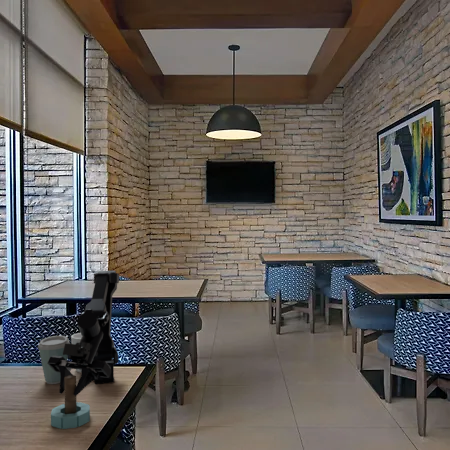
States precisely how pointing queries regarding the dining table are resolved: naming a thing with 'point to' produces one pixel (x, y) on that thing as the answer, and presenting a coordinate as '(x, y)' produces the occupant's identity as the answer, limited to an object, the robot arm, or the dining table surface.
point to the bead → (70, 416)
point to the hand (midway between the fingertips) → (67, 394)
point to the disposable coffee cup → (52, 348)
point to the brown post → (70, 394)
